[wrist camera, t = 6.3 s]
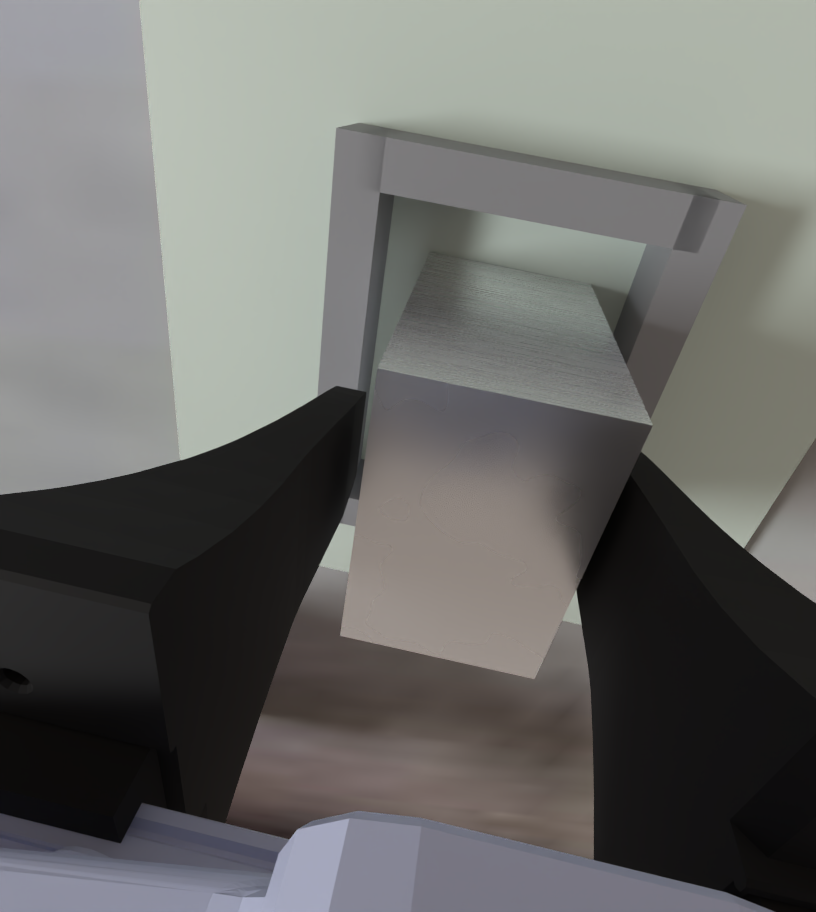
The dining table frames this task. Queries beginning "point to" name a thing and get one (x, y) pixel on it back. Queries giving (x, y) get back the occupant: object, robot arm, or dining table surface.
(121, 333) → the dining table surface
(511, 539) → the white block
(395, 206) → the board
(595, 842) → the robot arm
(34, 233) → the dining table surface
